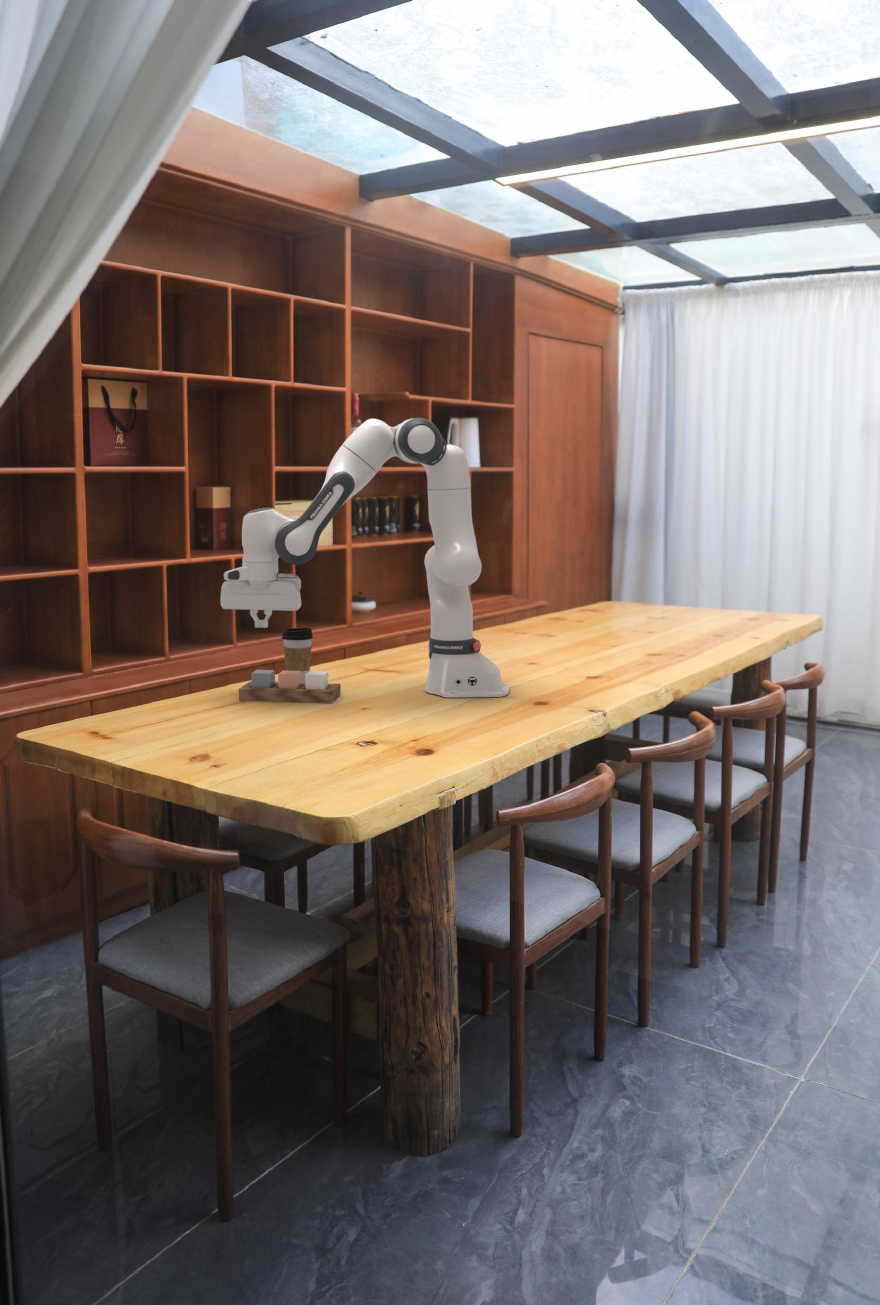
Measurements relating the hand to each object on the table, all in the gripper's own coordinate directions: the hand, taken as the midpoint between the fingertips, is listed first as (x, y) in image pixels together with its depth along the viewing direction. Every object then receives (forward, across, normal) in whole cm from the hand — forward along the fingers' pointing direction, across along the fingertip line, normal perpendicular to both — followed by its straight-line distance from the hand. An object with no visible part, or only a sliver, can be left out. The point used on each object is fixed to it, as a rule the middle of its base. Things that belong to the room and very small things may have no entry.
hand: (261, 627), depth 258 cm
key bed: (+18, -7, 0) cm, 19 cm away
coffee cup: (+18, -4, -20) cm, 27 cm away
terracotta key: (+15, -7, 0) cm, 17 cm away
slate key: (+15, 0, 0) cm, 15 cm away
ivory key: (+15, -14, 0) cm, 21 cm away
